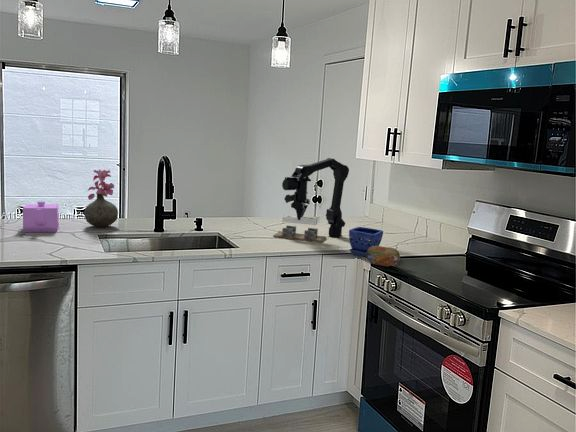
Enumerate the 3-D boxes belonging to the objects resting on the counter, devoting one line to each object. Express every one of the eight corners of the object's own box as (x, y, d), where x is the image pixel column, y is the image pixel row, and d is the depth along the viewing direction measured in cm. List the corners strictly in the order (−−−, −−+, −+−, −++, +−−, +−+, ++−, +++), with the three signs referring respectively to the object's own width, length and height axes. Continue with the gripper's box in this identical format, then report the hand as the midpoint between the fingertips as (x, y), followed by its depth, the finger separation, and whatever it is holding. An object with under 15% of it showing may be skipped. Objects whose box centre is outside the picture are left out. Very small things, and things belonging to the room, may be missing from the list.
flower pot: (382, 254, 262) (384, 230, 260) (372, 259, 250) (374, 234, 248) (357, 249, 268) (359, 226, 266) (346, 254, 257) (348, 229, 255)
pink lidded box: (21, 234, 254) (20, 205, 252) (27, 224, 277) (26, 197, 275) (56, 234, 259) (55, 205, 257) (59, 224, 282) (59, 198, 280)
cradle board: (325, 238, 291) (326, 229, 290) (321, 242, 279) (322, 233, 278) (279, 233, 297) (279, 224, 296) (273, 237, 285) (273, 227, 285)
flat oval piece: (365, 262, 243) (366, 244, 241) (367, 261, 245) (369, 243, 244) (397, 268, 236) (399, 249, 234) (399, 267, 239) (401, 248, 237)
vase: (108, 231, 274) (108, 172, 269) (76, 228, 276) (76, 169, 272) (123, 225, 290) (123, 170, 285) (92, 222, 293) (93, 167, 288)
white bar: (317, 223, 283) (317, 217, 282) (315, 225, 279) (316, 218, 279) (284, 220, 287) (284, 214, 286) (282, 222, 283) (282, 216, 282)
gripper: (290, 186, 291) (289, 215, 294) (281, 190, 273) (280, 220, 276) (310, 188, 288) (309, 217, 291) (303, 192, 270) (301, 222, 273)
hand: (299, 219), depth 283 cm, fingers closed on white bar, 4 cm apart
